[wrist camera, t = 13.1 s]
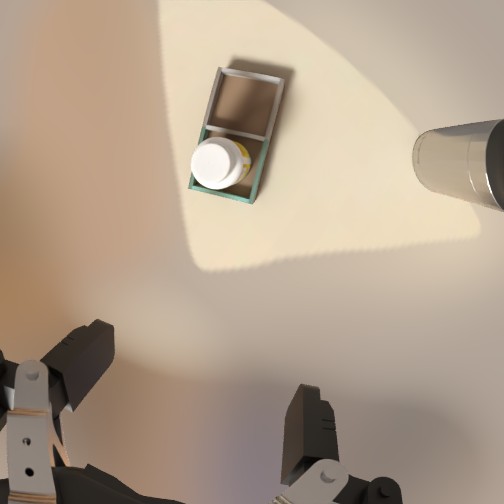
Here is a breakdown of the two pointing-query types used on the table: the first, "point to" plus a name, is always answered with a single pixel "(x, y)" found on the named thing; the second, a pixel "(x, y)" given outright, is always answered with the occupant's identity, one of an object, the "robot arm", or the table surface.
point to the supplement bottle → (220, 163)
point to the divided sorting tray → (242, 123)
